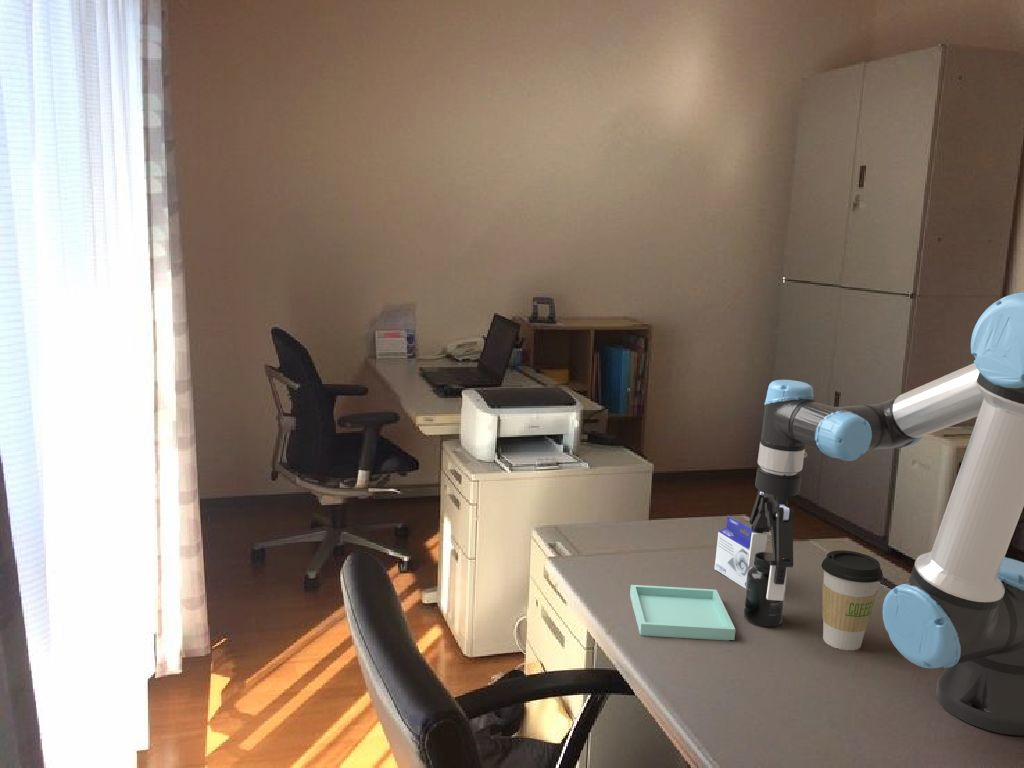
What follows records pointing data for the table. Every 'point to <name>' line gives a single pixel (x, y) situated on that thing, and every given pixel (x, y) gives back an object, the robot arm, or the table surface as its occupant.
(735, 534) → the ink box
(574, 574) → the table surface
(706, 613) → the tray
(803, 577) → the table surface
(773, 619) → the supplement bottle
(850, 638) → the coffee cup
